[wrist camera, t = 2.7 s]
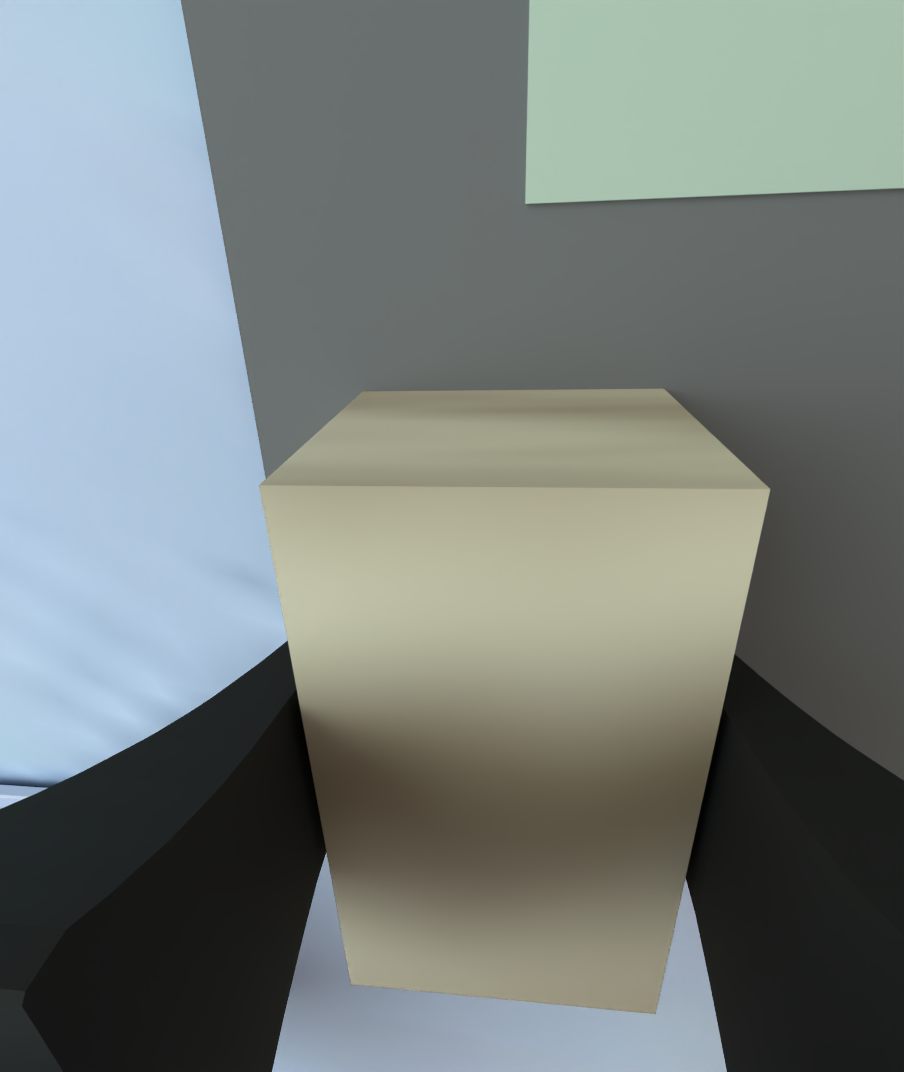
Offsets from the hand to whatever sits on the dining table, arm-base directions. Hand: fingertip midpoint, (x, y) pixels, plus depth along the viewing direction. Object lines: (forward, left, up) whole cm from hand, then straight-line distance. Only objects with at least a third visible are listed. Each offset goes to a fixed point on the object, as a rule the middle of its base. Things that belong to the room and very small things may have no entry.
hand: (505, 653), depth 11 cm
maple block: (0, 0, -1) cm, 1 cm away
